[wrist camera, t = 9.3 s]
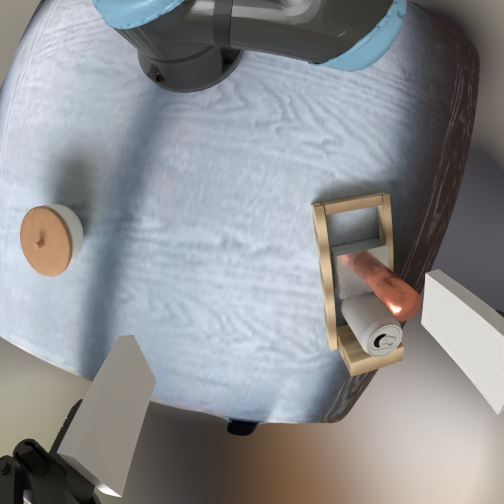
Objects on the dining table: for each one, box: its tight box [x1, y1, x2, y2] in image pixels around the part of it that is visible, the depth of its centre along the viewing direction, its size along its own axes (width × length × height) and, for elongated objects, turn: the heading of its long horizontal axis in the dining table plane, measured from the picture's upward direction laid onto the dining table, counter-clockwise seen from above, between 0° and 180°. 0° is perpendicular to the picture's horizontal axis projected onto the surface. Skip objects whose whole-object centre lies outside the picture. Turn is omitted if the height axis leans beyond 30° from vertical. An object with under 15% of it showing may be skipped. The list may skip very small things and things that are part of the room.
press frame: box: [311, 192, 404, 377], centre depth 39 cm, size 25×12×10 cm, turn 12°
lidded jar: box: [20, 204, 83, 277], centre depth 36 cm, size 11×11×9 cm
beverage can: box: [341, 292, 402, 358], centre depth 40 cm, size 6×6×12 cm
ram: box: [329, 238, 421, 321], centre depth 35 cm, size 7×8×17 cm
